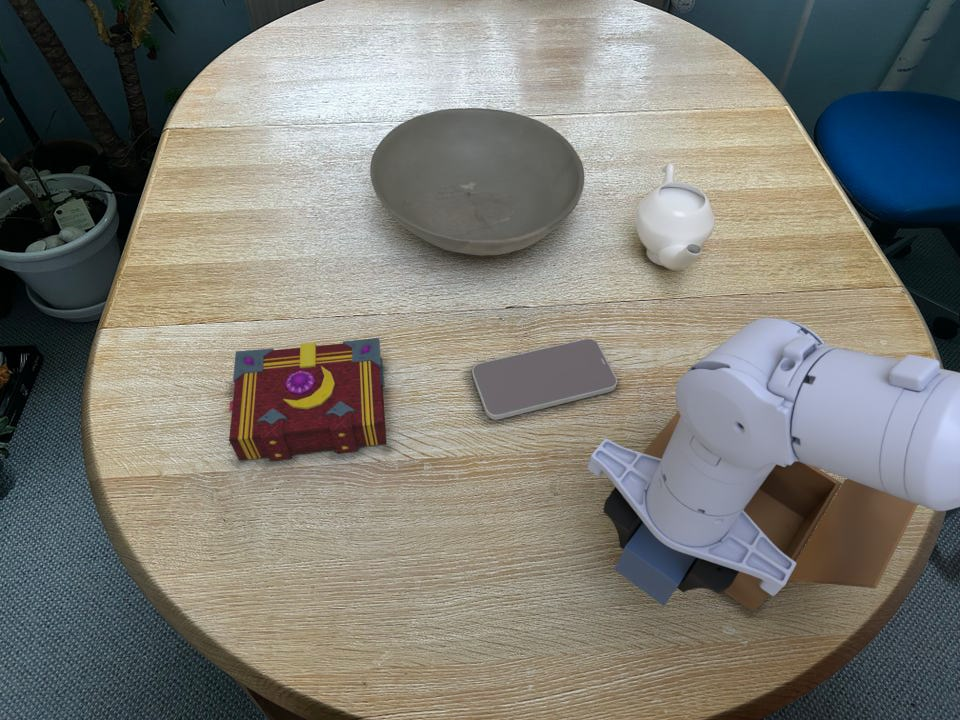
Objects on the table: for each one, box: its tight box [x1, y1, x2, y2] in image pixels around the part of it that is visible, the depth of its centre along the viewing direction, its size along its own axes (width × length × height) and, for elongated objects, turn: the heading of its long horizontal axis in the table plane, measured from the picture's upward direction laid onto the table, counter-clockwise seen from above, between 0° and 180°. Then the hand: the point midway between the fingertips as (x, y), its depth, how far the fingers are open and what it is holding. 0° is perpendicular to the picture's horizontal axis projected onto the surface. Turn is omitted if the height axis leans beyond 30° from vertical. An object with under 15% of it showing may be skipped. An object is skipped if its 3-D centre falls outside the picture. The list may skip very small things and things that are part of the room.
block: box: [614, 522, 697, 607], centre depth 52 cm, size 4×4×4 cm
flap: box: [787, 478, 919, 589], centre depth 53 cm, size 7×12×1 cm
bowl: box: [369, 107, 585, 257], centre depth 89 cm, size 27×28×8 cm
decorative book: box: [228, 337, 387, 462], centre depth 70 cm, size 11×16×5 cm
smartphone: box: [471, 337, 618, 421], centre depth 74 cm, size 7×1×15 cm
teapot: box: [634, 162, 716, 271], centre depth 85 cm, size 10×20×9 cm, turn 178°
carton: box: [642, 409, 843, 613], centre depth 62 cm, size 15×12×8 cm
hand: (657, 560), depth 52 cm, fingers closed on block, 4 cm apart
